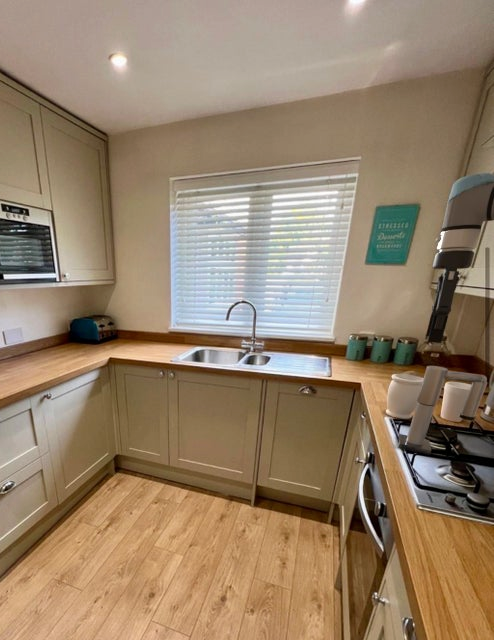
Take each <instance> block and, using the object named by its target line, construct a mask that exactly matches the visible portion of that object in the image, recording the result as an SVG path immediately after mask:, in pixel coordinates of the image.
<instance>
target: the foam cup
mask: <svg viewBox="0 0 494 640" xmlns="http://www.w3.org/2000/svg"><path fill="white" fill-rule="evenodd" d="M471 385H472V384H471V383H470V384H469V383H467V382H461V381H446V382H445V384H444V387H443V397H442V402H441V403H442V404H441V411H440V418H441V419H443V420H446V421H449V422H454V423H455V422H456V423H460V422H462V420H463V419H462V418H460V417H459V416H460V413H462V410H463V407H464V404H465V402H466V399H467V396H468V393H469V390H470V387H471Z"/></svg>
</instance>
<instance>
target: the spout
mask: <svg viewBox="0 0 494 640" xmlns="http://www.w3.org/2000/svg"><path fill="white" fill-rule="evenodd" d="M487 379H488V378H487V376H486V375H485V374H478V373H471V372H470V373H469V372H464V371H456V370H448V368H446V367H443V366H437V365H426V368H425V373H424V376H423V382H422V386H421V389H420V392H419V396H418V399H417V401H418V402H419V403H422V404H426V405H435V406H437V405H438V402H439V400H440V396H441V393H442V389H443V386H444V383H445V380H450V381H456V382H463V383H470V385H471V387H470V390H469V393H468V396H467V399H466V402H465V404H464V407H463V410H462V413H460V416H459V417H460V418H462V420H466V421H471V422H472V421H476V418H477V417H476V414H477V412H478V410H479V406H480V404H481V401H482V398H483V396H484V393H485V392H486V388H487V385H488V382H487V381H488V380H487Z"/></svg>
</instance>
